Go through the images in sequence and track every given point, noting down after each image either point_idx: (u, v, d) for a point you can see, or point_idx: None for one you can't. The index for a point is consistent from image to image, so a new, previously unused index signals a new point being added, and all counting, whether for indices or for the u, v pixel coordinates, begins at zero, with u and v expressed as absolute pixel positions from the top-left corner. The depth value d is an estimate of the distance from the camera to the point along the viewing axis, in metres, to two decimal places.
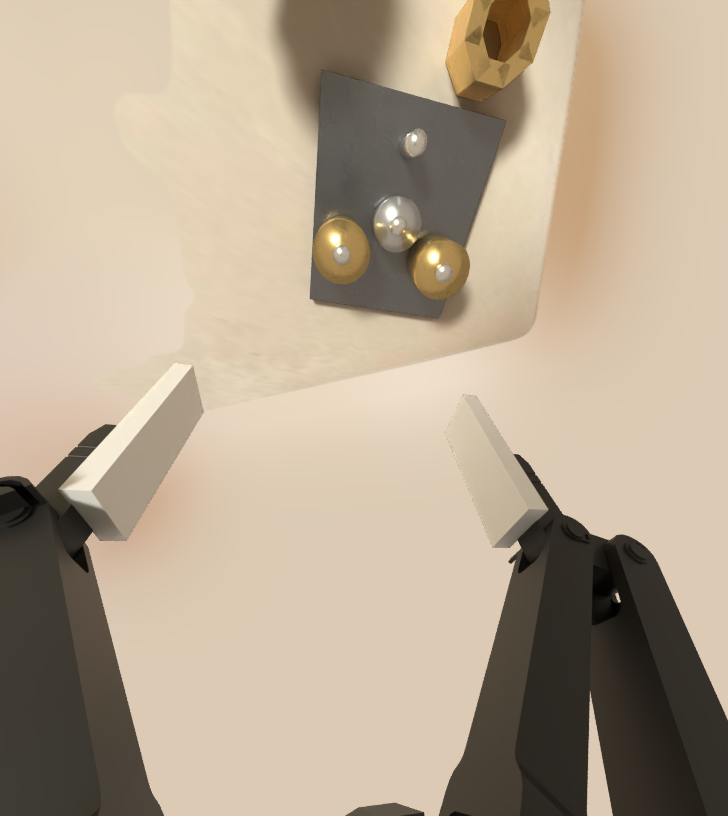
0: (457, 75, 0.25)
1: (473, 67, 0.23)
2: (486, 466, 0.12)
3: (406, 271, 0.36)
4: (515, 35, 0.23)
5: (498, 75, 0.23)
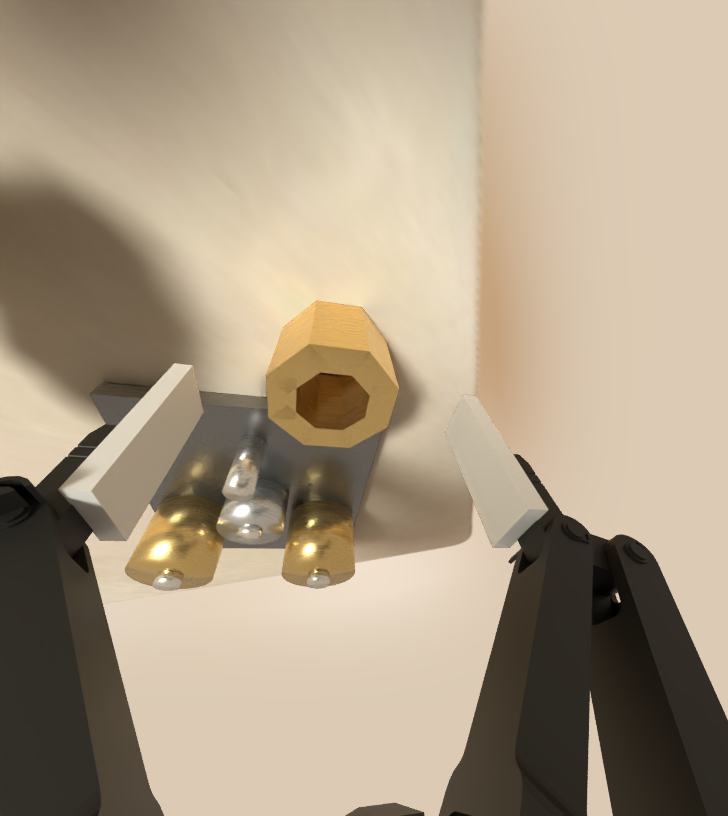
0: None
1: (295, 435, 0.15)
2: (486, 466, 0.12)
3: None
4: None
5: (337, 439, 0.15)
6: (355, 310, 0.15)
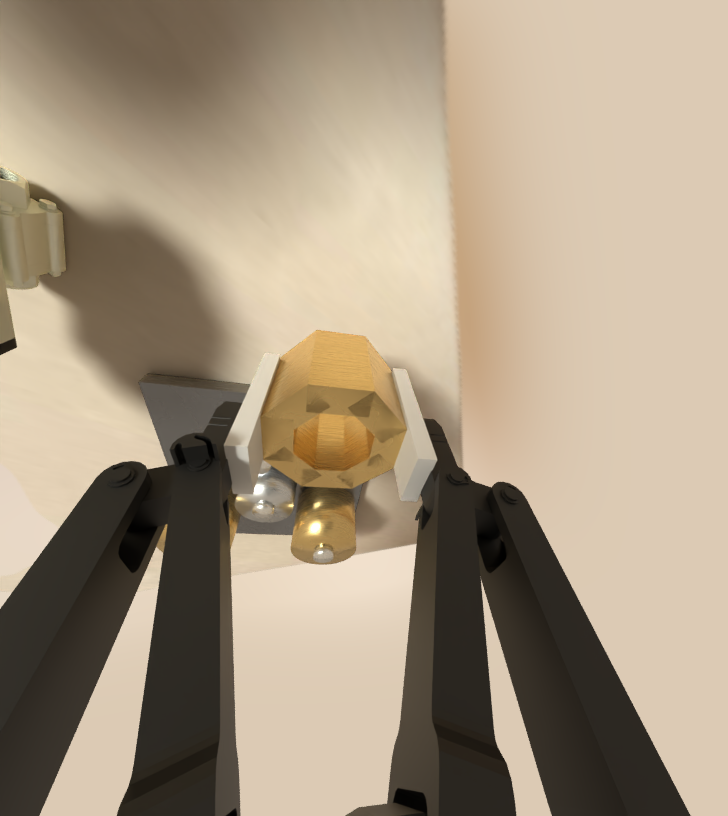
0: None
1: (292, 476, 0.13)
2: None
3: None
4: None
5: (339, 480, 0.14)
6: (358, 340, 0.14)
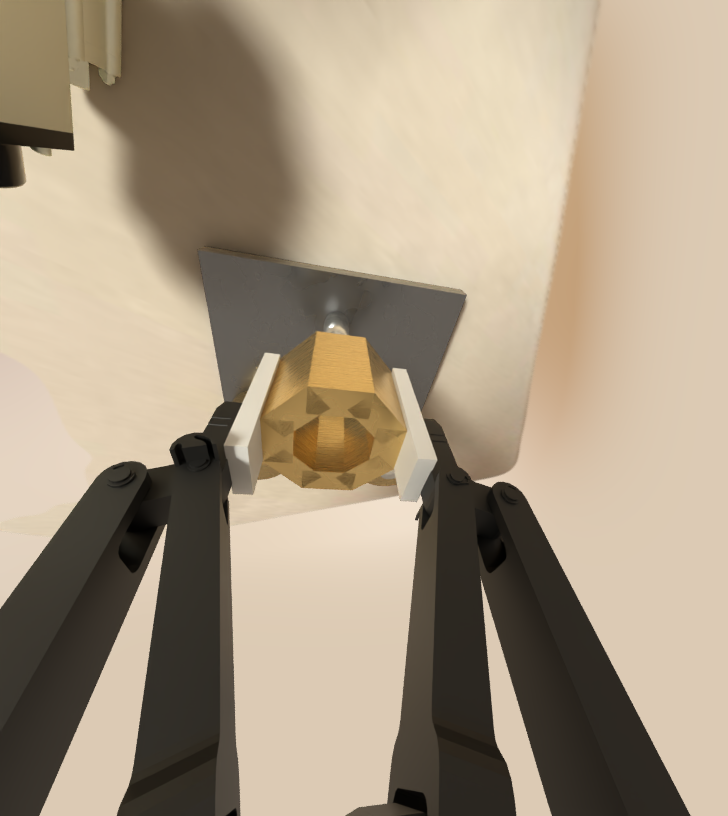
0: None
1: (292, 478, 0.13)
2: None
3: None
4: None
5: (339, 481, 0.14)
6: (358, 341, 0.14)
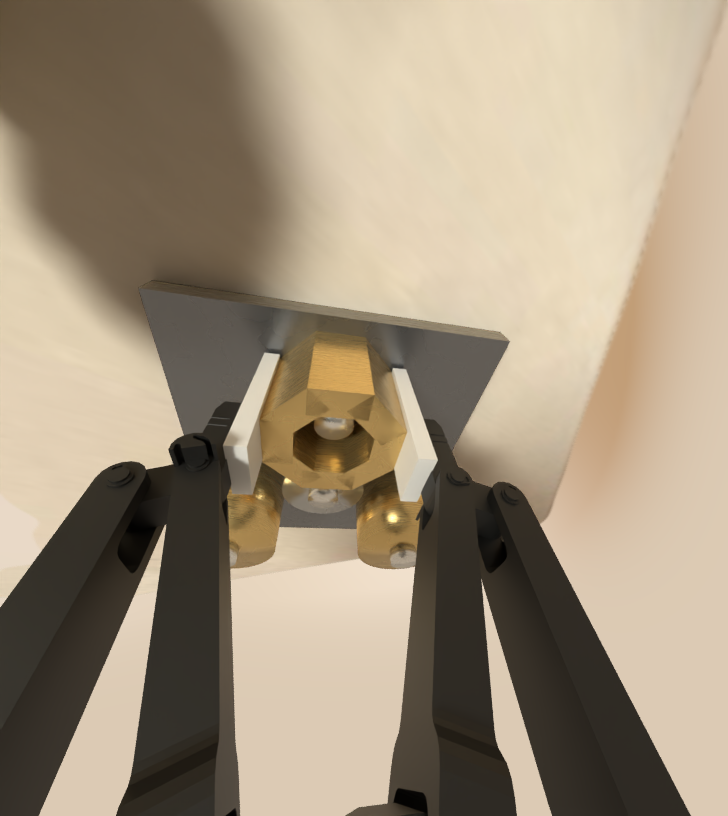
0: None
1: (292, 478, 0.13)
2: None
3: None
4: None
5: (338, 482, 0.14)
6: (358, 341, 0.14)
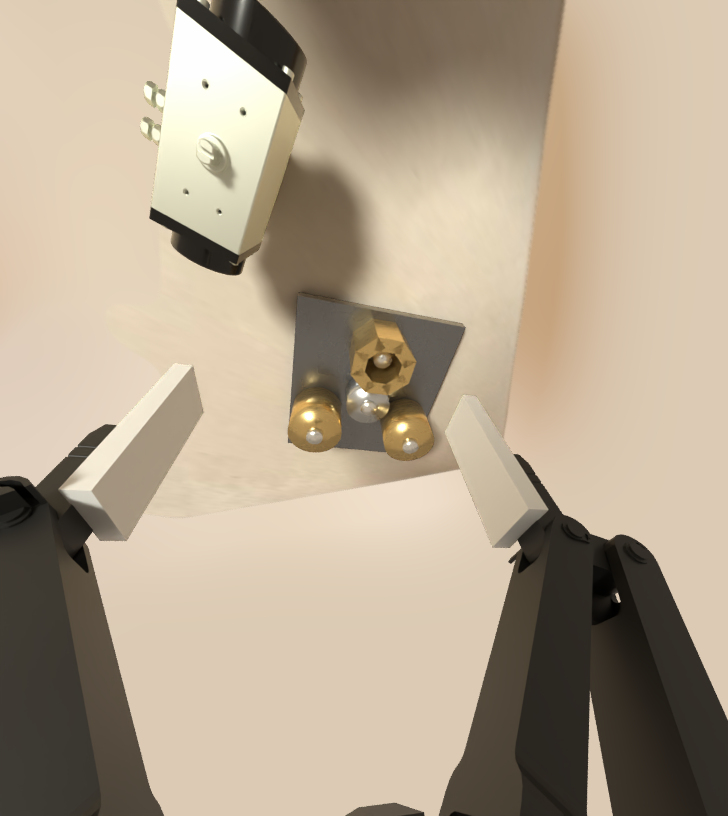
0: None
1: (361, 386, 0.28)
2: (486, 466, 0.12)
3: (379, 423, 0.38)
4: None
5: (382, 389, 0.29)
6: (393, 323, 0.29)
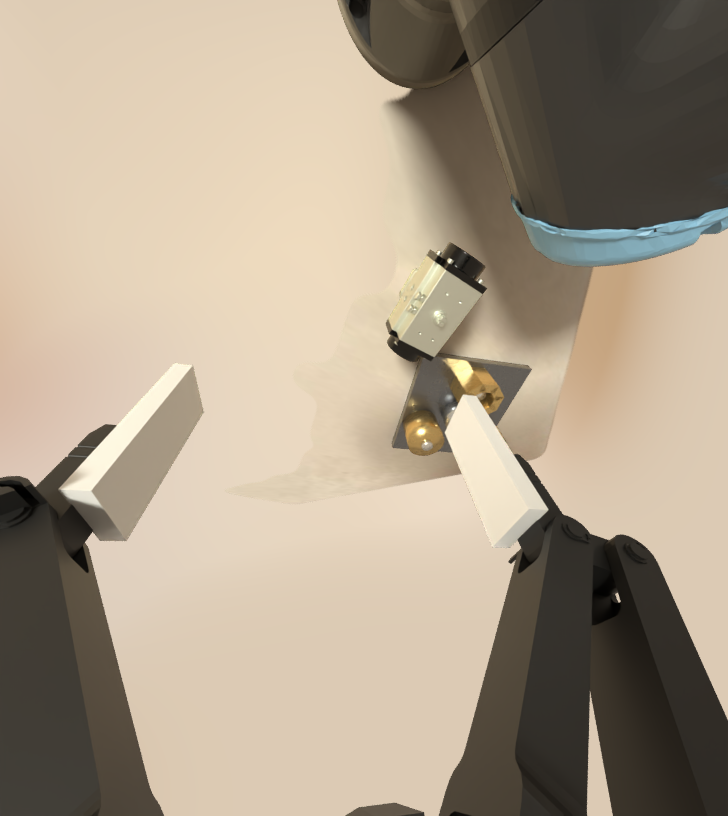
0: None
1: None
2: (486, 466, 0.12)
3: None
4: None
5: None
6: (484, 369, 0.43)
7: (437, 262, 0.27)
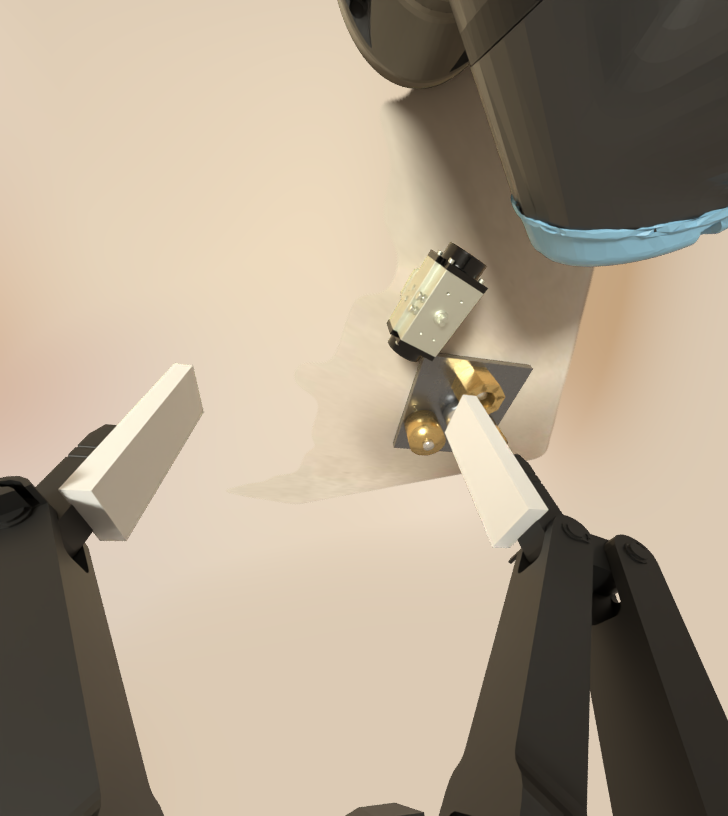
0: None
1: None
2: (486, 466, 0.12)
3: None
4: None
5: None
6: (485, 369, 0.43)
7: (438, 262, 0.27)
